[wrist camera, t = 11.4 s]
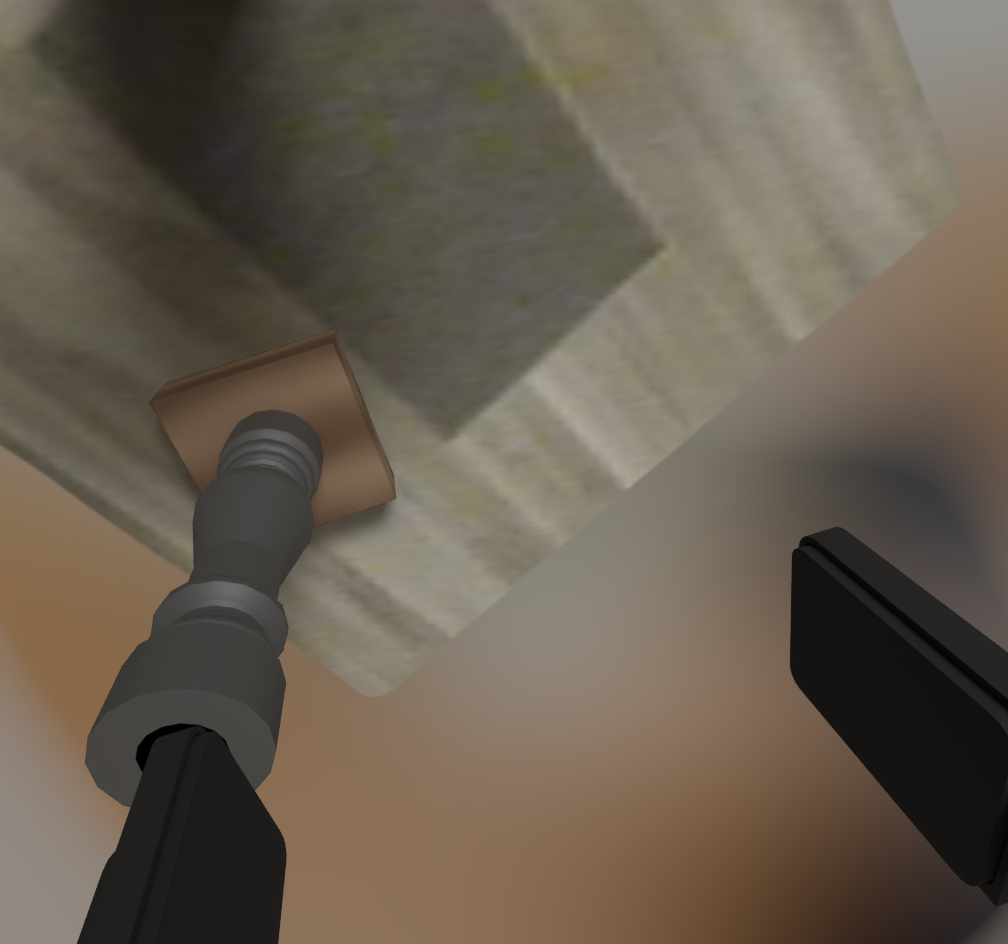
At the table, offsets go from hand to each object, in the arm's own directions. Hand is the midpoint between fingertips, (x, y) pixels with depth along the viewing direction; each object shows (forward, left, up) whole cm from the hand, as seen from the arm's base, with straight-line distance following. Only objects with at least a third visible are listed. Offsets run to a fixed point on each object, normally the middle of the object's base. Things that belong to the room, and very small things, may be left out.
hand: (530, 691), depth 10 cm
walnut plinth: (+7, -11, -38) cm, 40 cm away
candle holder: (+7, -11, -34) cm, 37 cm away
